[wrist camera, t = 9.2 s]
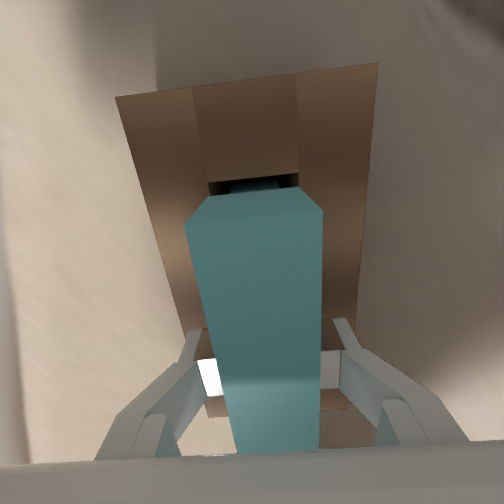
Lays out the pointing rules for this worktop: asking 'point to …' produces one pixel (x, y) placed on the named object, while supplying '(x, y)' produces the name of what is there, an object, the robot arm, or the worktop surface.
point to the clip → (263, 309)
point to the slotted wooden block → (258, 170)
